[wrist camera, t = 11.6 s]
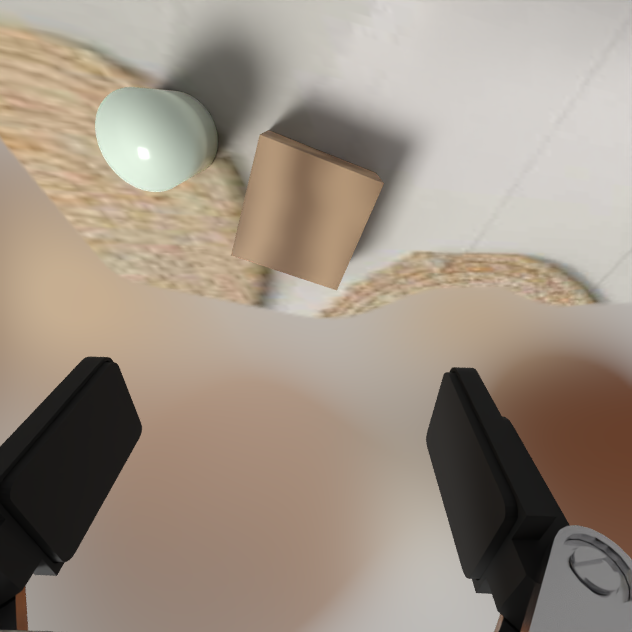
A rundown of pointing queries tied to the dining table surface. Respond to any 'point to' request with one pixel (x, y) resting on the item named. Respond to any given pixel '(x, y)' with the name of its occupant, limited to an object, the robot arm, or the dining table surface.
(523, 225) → the dining table surface
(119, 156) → the pale green rounded cylinder
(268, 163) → the tan box
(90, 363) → the robot arm
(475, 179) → the dining table surface
